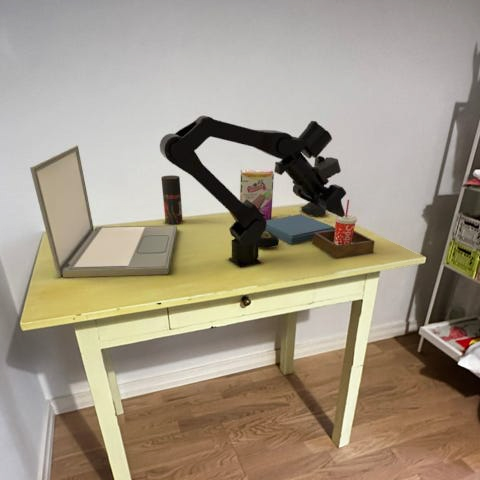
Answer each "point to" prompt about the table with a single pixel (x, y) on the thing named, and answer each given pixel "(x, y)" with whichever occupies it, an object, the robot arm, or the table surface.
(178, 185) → the deodorant
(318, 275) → the table surface
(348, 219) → the beverage cup
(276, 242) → the tape measure
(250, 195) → the candy bar box
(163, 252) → the laptop
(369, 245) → the open box
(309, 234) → the blue square platform
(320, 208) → the gaming mouse
